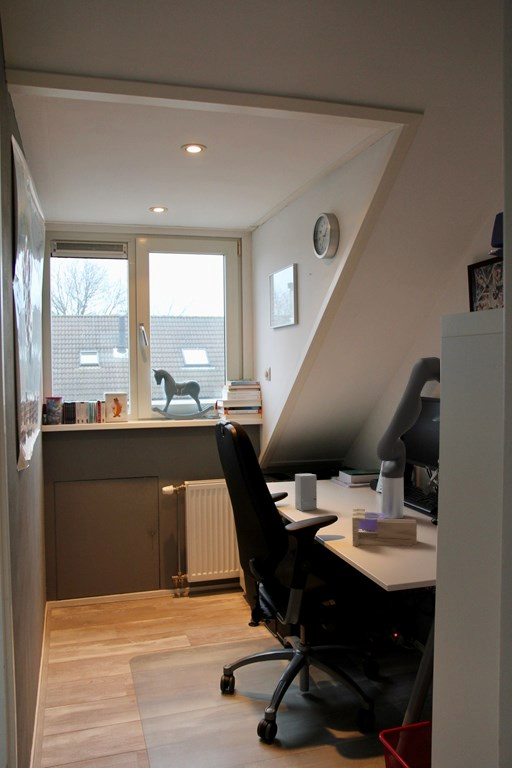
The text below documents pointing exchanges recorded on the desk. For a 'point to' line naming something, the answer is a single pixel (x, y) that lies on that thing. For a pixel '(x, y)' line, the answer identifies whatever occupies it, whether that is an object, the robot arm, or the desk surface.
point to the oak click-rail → (370, 533)
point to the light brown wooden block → (397, 529)
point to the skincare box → (305, 492)
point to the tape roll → (371, 521)
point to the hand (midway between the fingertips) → (424, 492)
